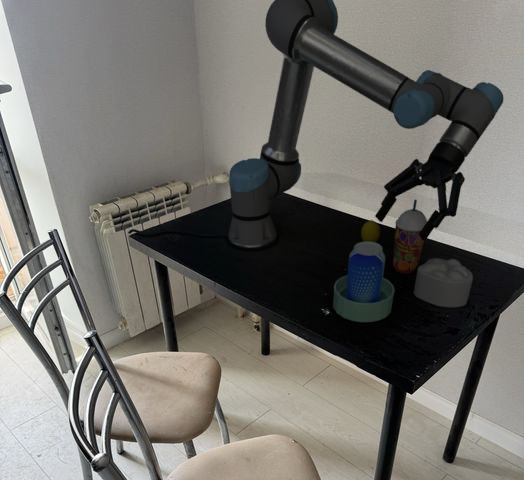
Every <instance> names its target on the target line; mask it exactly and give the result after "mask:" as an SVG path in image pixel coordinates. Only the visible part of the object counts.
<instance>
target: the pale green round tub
mask: <svg viewBox="0 0 524 480" xmlns="http://www.w3.org/2000/svg"><path fill="white" fill-rule="evenodd" d="M347 278H348V274H346V275H344V276H340V278H338V279H337V280H335V282H334V284H333V292H332V293H333V295H332V307H333V310H334V312H336V314H337V315H339V316H340V317H341V318H344V319H346V320H349V321H352V322H357V323H373V322H378V321H381V320H384V319H385V318H387V317H388V316H389V315H390V314H391V313H392V310H393V305H394V299H395V293H396V289H395V286H394V285H393V283H392V282H390V280H389V279H386V278H385V277H383V281H382V289H381V297H380V302H375V303H359V302H353V301H351V300H348V299H346V290H347Z"/></svg>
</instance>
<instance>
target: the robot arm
mask: <svg viewBox="0 0 524 480" xmlns="http://www.w3.org/2000/svg"><path fill="white" fill-rule="evenodd" d="M264 23H265V24H264V25H265V33H266V35H267V38H268V40H269V42H270V43H271V45H272V46H273V48H275V49H276V50H277V51H278V52H280V53H281V54H282V56H283V59H282V65H281V70H280V75H279V80H278V84H277V85H278V86H277V90H276V96H275V102H274V107H273V113H272V117H271V124H270V129H269V133H268V134H269V135H268V140H267V142H265V143H263V144H262V145H261V150H260V155H259V158H256V157H253V158H247V159H242V160H239V161H238V162H236V163H234V164H233V165H232V166H231V168H230V169H229V178H228V179H229V180H228V184H229V193H230V204H231V215H232V217H231V222H230V225H229V229H228V232H217V233H202V232H196V231H190V230H182V229H162V230H158V231H154V232H142V231H141V230H138V229H134V228H132V229H130V230H129V231H128V232H127V234H129V235H130V234H132V233H136V234H139V235H141V236H145V237H152V236H153V237H154V236H158V235H162V234H166V233H179V234H185V235H193V236H198V237H205V238H215V237H223V236H225V237H226V236H227V239H228V244H229V245H230V246H231V247H234V248H235V249H240V250H244V251H255V250H263V249H266V248H269V247H271V246H272V245H274V244H275V243H276V241H277V230H276V227H275V224H274V222H273V219H272V216H271V200H273V199H275V198H276V197H278V196H279V195H282V194H283V193H285V192H287V191H290V190H291V189H292V188H293V187H294V186H295V185H296V184H297V183H298V182H299V180H300V178H301V175H302V163H301V162H300V152H299V151H298V149H297V146H298V145H297V144H298V140H299V136H300V131H301V127H302V123H303V118H304V115H305V114H304V113H305V109H306V105H307V101H308V96H309V91H310V88H311V84H312V79H313V75H314V70H315V68H316V69H317V70H319V71H321V72H323V73H324V74H326V75H328V76H329V77H330V78H333V79H334V80H336V81H338V82H339V83H341V84H343V85H344V86H345V87H348V88H350V89H351V90H352V91H355V92H356V93H358V94H360V95H361V96H362V97H365V98H366V99H368V100H370V101H371V102H373V103H375V104H376V105H378V106H380V107H382V108H383V109H384V110H387V111H388V112H390V113H392V114H393V117H394V119H395V122H396V123H397V124H398V125H399V127H402V128H403V129H408V130H411V129H416V128H419V127H421V126H424V125H426V123H428V122H429V121H430V120H431V119H433V118H435V117H437V116H439V117H442V118H443V119H445V120H448V121H450V123H449V125H448V126H447V128H446V129H445V131H444V132H443V133H442V135H441V137H440V138H439V141H438V142H437V143H436V144H435V146H434V147H433V148H432V150H431V152H430V153H429V155H428V159H427V161H425V162H424V163H423V162H421V161H420V160H419V158H415V159H413V161H412V162H411V163H410V164H409V166H408V167H407V168H405V169H403V170H402V171H401V172H399V174H397V175H396V176H394V177H393V178H391V180H389V181H388V182H387V183H385V184H384V186H383V188H384V190H385V191H386V192H387V193H386V195H385V197H384V198H383V200H382V201H381V202H380V203H381V204H380V205H381V206H380V208H379V209H378V211H377V212H376V214H375V215H374V217H375V218H376V219H377V221H379V223H383V221H384V220H385V218H386V217H387V215H388V214H389V212H390V211H391V209H392V208H393V206H394V205H395V203H396V202H397V201H398V199H397V198H396V197H398V196H400V195H402V194H404V193H406V192H408V191H410V190H412V189H414V188H416V187H418V186H423V185H424V186H426V187H431V188H432V189H435V190H437V202H438V208H437V210H436V209H434V211H433V212H432V214H431V215H430V217H429V218H428V219H427V223H426V224H425V225H424V227H423V228H422V230H421V231H420V233H419V234H418V235H419V236H420V237H421V238H422V240H424V242H425V241H426V240H427V239H428V237H429V236H430V234H431V233H432V232H433V231H434V229H437V228H439V226H440V225H441V223H442V222H443V221H444V220H445V218H447V217H452V218H454V217H456V216H457V212H458V207H459V200H460V195H461V189H462V186H463V184H464V183H465V180H466V178H465V176H464V174H463V172H461V171H459V169H460V168H461V167H462V165H463V163H464V162H465V160H466V158H467V157H468V156H469V154H470V153H471V152H472V151H473V149H474V147H475V146H476V144H477V143H478V141H479V140H480V139H481V137H482V136H483V134H484V133H485V131H486V130H487V129H488V127H489V125H490V124H491V123H492V122H493V120H494V119H495V117H496V115H497V114H498V112H499V110H500V108H501V106H502V105H503V103H504V99H505V98H504V94H503V92H502V90H501V89H500V88H499V87H498V86H497V85H495V84H494V83H490V82H485V81H481V82H479V83H477V84H476V85H475V86H474V87H473V88H470V87H467V86H464V85H462V84H461V83H459V82H457V81H455V80H453V79H451V78H449V77H447V76H445V75H443V74H442V73H441V72H435V71H433V70H431V69H427V70H424V71H423V72H422V73H421V74H420V75H419V76H418V78H417V79H416V81H415V80H413V79H411V78H410V77H409V76H407V75H405V74H404V73H402V72H401V71H398V70H397V69H395V68H393V67H391V66H390V65H388V64H386V63H385V62H383V61H382V60H379V59H378V58H376V57H374V56H372V55H370V54H368V53H367V52H365V51H363V50H362V49H360V48H358V47H356V46H355V45H353V44H351V43H350V42H348V41H346V40H345V39H343V38H341V37H340V36H337V35H336V34H335V33H336V32H337V28H338V24H339V14H338V9H337V6H336V4H335V1H334V0H273V2H272V3H271V4H270V5H269V7H268V10H267V12H266V14H265V22H264ZM450 181H452V183H451V186H450V187H451V188H450V193H449V199H448V200H447V183H449V182H450Z"/></svg>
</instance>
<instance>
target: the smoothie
mask: <svg viewBox="0 0 524 480" xmlns="http://www.w3.org/2000/svg"><path fill="white" fill-rule="evenodd" d="M417 200H418V199H414V200H413V205H412V208H410V209H407V210H405V211H404V212H402V213H401V214H399V216H398V218H397V219H396V220H395V223H394V224H395V227H394V242H393V256H392V257H393V258H392V266H393V268H394V270H395V272H398V273H400V274H404V275H405V274H406V275H408V274H413V273H414V272H415V271H416V269H418V267H419V263H420V259H421V255H422V251H423V246H424V242H425V241H424V240H422V238H421V237H420V236H419V235H418V234H419V233H420V231H421V230H422V228H423V227H424V225H425V224H426V223H427V221H428V219H427V218H426V215H425V214H424V212H422V211H421V210H419V209H416V208H417V202H418V201H417Z"/></svg>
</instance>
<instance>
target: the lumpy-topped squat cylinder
mask: <svg viewBox="0 0 524 480" xmlns="http://www.w3.org/2000/svg"><path fill="white" fill-rule="evenodd" d="M473 275H474V274H473V273H472V271H471V270H470V269H468V268H467V267H465V266H464V265H462V264H461V262H460V261H459V260H458V259H456V258H450V259H444V258H439V257H435V258H434V257H433V258H429V259H428V260H427V261H426V262H424V264H421V265H418V267H417V270H416V276H415V282H414V288H413V295H414V296H415V297H416V298H418V299H420V300H422V301H424V302H426V303H428V304H431V305H434V306H437V307H442V308H443V307H444V308H461V307H464V306H466V305H467V303H468V300H469V297H470V292H471V288H472V284H473V280H474V276H473Z"/></svg>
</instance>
